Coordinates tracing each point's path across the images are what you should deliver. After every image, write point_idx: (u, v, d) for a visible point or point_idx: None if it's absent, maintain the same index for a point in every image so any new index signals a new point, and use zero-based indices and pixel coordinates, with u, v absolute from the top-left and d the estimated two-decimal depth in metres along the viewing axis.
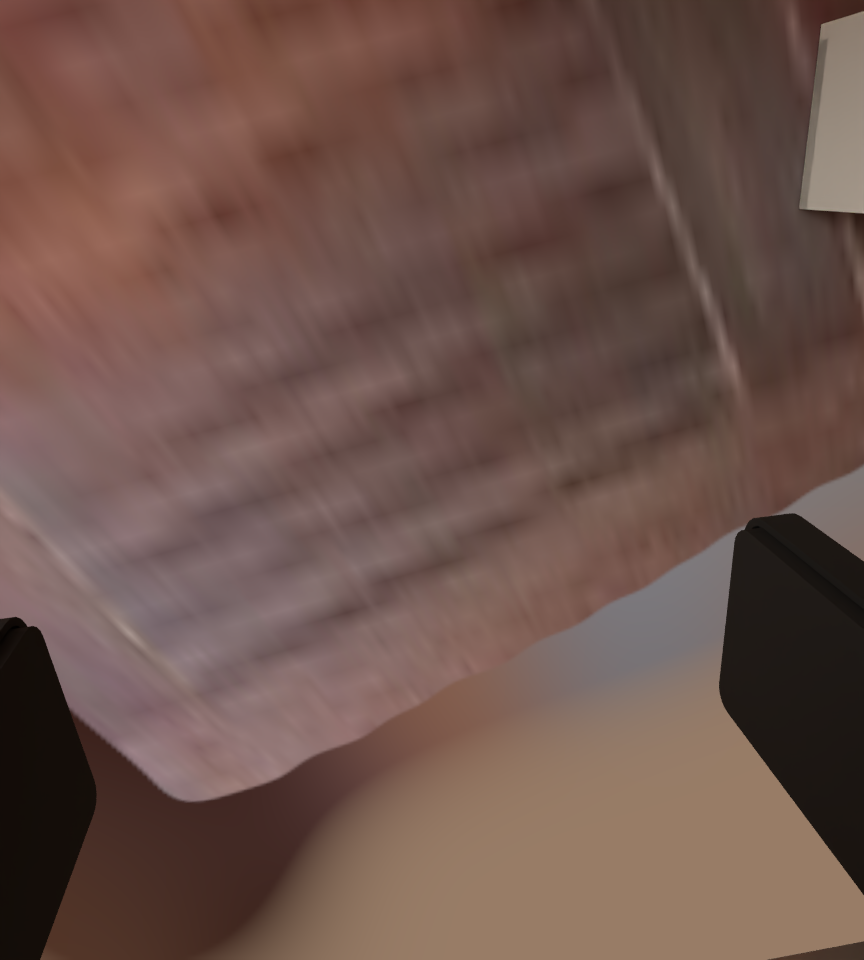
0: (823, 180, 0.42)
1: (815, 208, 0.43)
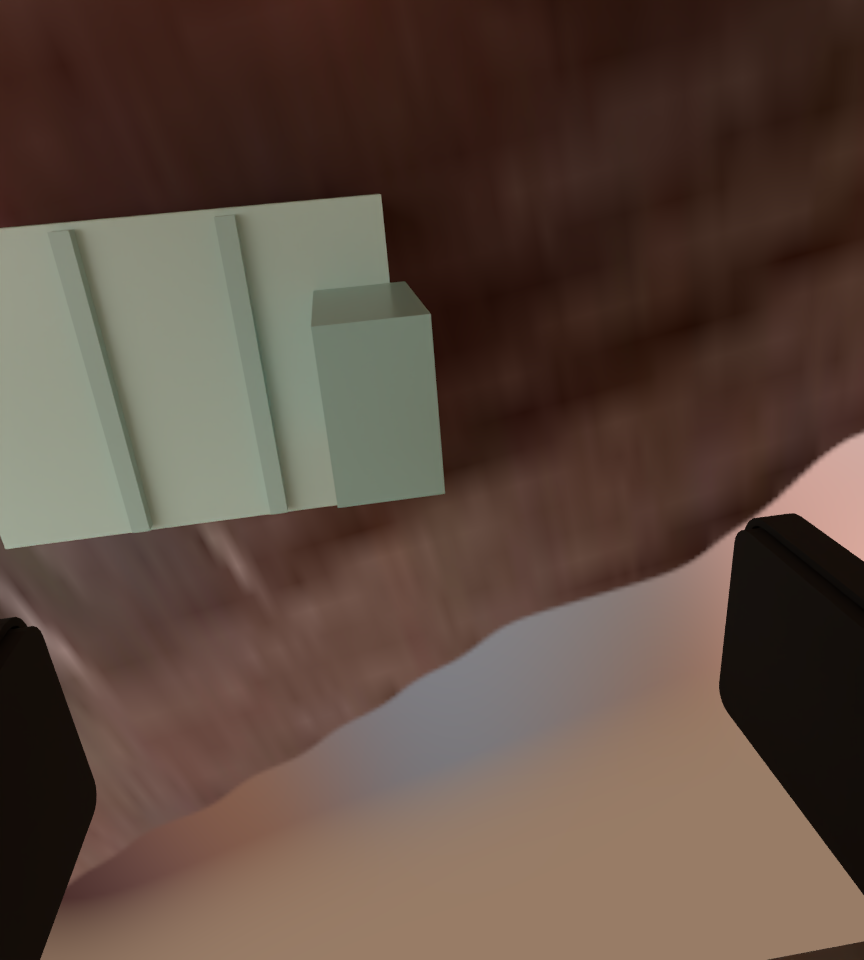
0: None
1: None
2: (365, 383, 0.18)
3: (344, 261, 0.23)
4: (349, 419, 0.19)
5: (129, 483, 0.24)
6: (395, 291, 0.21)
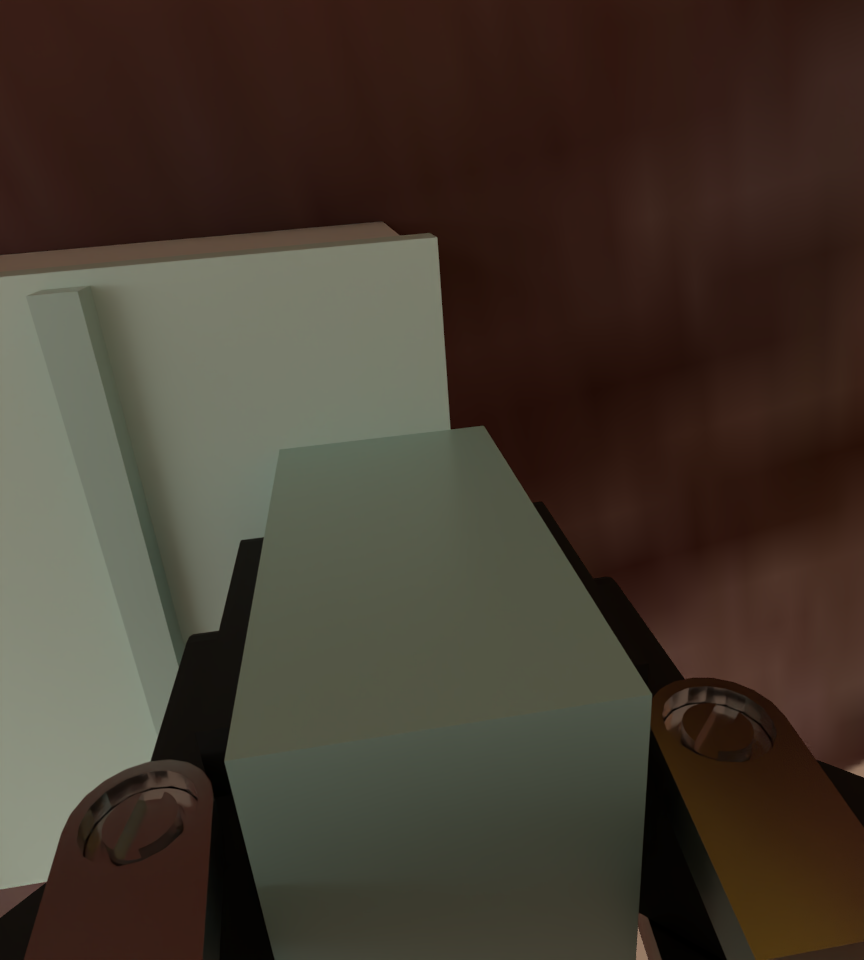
0: None
1: None
2: (416, 892, 0.06)
3: (349, 385, 0.10)
4: None
5: None
6: (475, 480, 0.09)
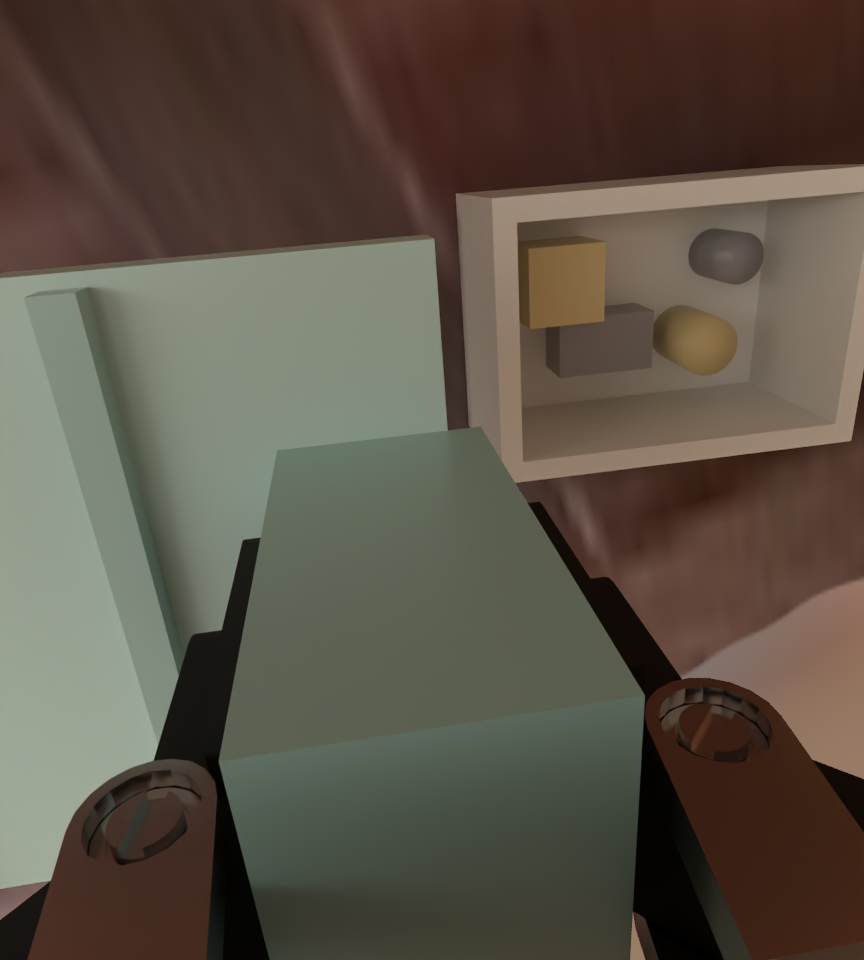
0: (475, 403, 0.30)
1: None
2: (411, 893, 0.06)
3: (347, 386, 0.10)
4: None
5: None
6: (471, 481, 0.09)
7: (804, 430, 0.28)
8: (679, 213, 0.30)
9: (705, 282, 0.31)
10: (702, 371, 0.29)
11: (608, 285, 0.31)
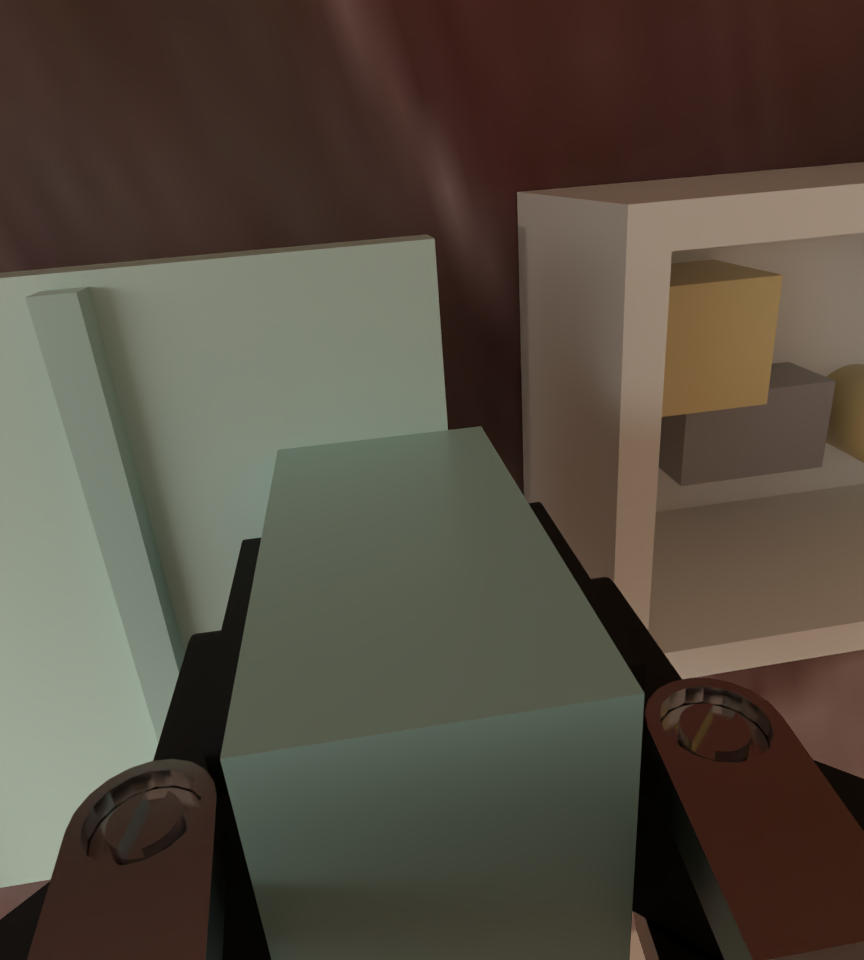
0: None
1: None
2: (411, 888, 0.06)
3: (347, 386, 0.10)
4: None
5: None
6: (471, 480, 0.09)
7: None
8: None
9: None
10: None
11: None
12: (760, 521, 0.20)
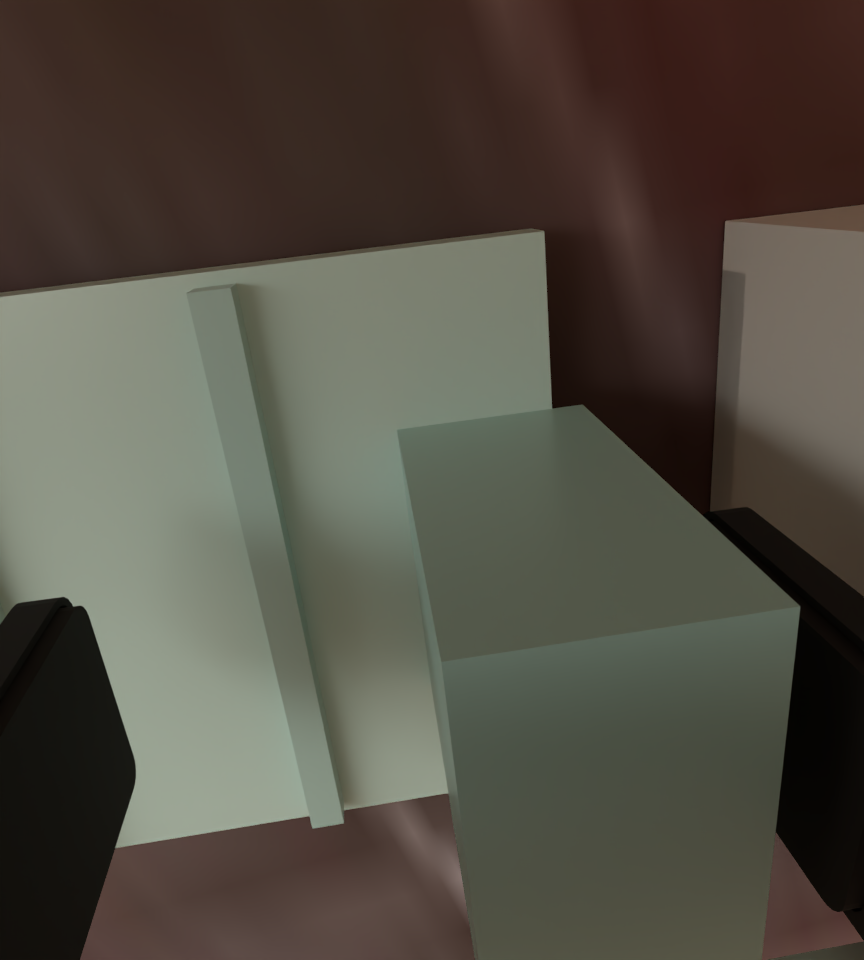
0: None
1: None
2: (588, 787, 0.06)
3: (461, 369, 0.11)
4: (534, 868, 0.07)
5: None
6: (589, 448, 0.10)
7: None
8: None
9: None
10: None
11: None
12: None
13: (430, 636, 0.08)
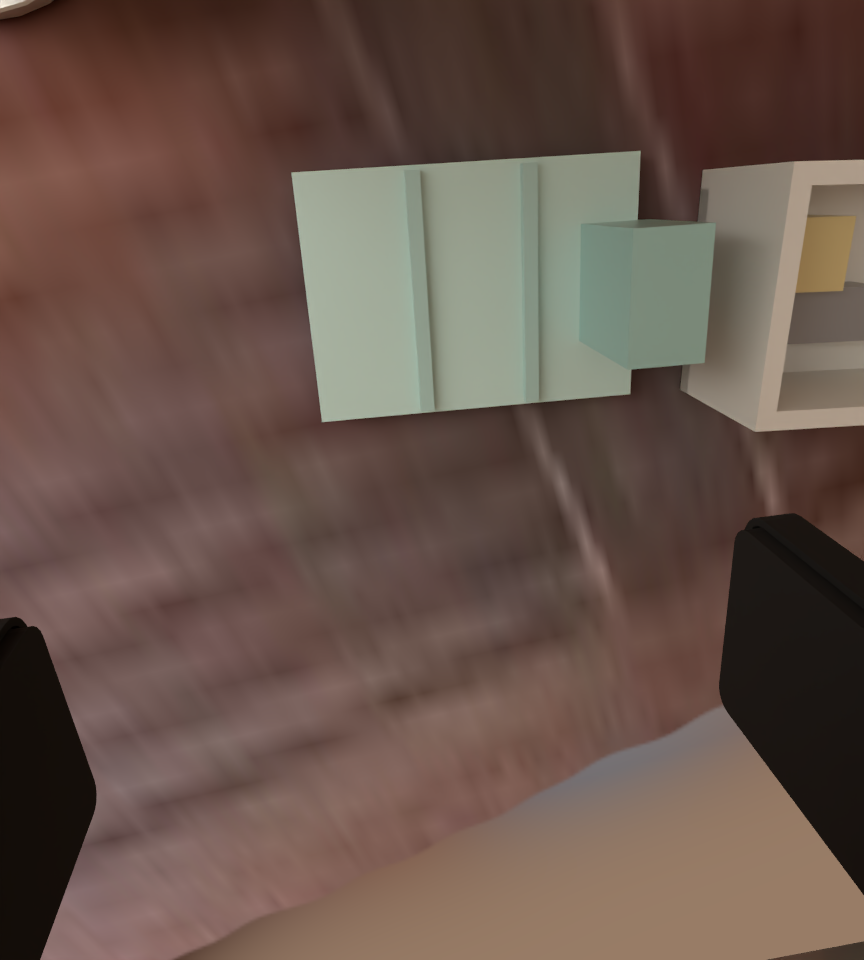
0: (703, 365, 0.33)
1: (695, 396, 0.34)
2: (663, 273, 0.25)
3: (606, 201, 0.30)
4: (647, 300, 0.26)
5: (426, 370, 0.31)
6: (655, 220, 0.29)
7: None
8: None
9: None
10: None
11: None
12: (830, 377, 0.34)
13: (610, 261, 0.27)
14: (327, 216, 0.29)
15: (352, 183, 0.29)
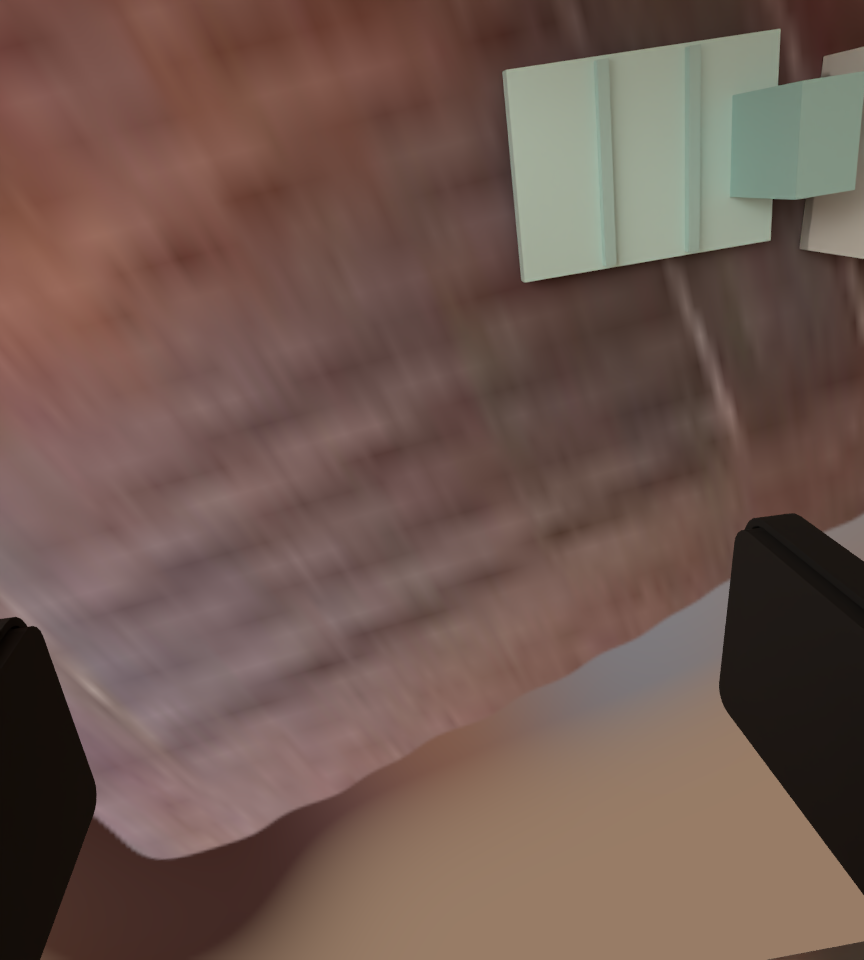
0: (825, 221, 0.40)
1: (816, 250, 0.41)
2: (824, 116, 0.32)
3: (753, 74, 0.37)
4: (811, 140, 0.33)
5: (610, 230, 0.39)
6: None
7: None
8: None
9: None
10: None
11: None
12: None
13: (773, 116, 0.34)
14: (533, 104, 0.36)
15: (553, 75, 0.36)
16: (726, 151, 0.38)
